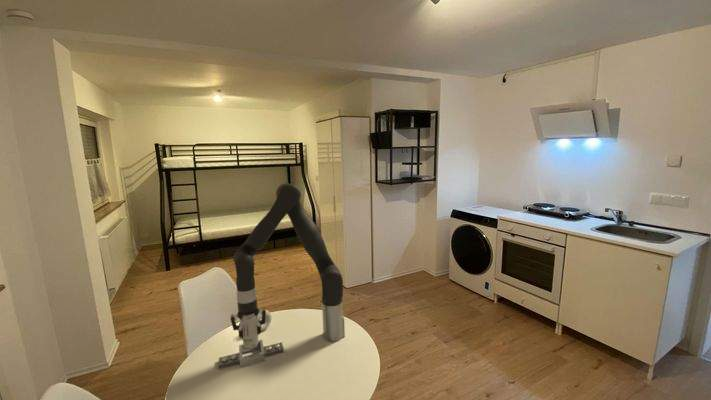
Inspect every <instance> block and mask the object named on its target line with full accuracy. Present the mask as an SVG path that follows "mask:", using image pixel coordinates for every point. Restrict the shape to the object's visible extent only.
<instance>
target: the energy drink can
mask: <svg viewBox="0 0 711 400" xmlns="http://www.w3.org/2000/svg"><path fill="white" fill-rule="evenodd" d="M253 315H254V316H253ZM244 316H245V317H244ZM243 318H244V319H243ZM255 318H256V319H257V317H256V316H255V314H254V313H251V314H247V315H243V317H242V320H241V322H243V326H242V334H243V338H242V342H243V343H242V344H243V345H244V347H245V348H246V349H253V348H255V347H256V346H257V344H258V343H259V335H258V329H257V323H256V319H255Z"/></svg>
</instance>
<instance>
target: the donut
mask: <svg viewBox="0 0 711 400" xmlns="http://www.w3.org/2000/svg"><path fill="white" fill-rule="evenodd" d="M265 310H266V316H265V324H262V325H261V332H263V331H265V330H267V329H268V328H269V327H270V324H271V322H272V314H271V312H270V311H268V310H267V309H265ZM257 318H258V319H259V321H261V320H262V315H261V314H260V313H259V314H258V315H257Z"/></svg>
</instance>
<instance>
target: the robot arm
mask: <svg viewBox="0 0 711 400" xmlns="http://www.w3.org/2000/svg"><path fill="white" fill-rule="evenodd" d="M275 196H276V199H275V201H274V203H273V205H272V206H271V208H270V210H269V211H268V212H267V213H266V214H265V215H264V217H263V218H262V219H261V220H260V221H259V222H258V223H257V224H256V226H255V227H254V228H253V230H252V232H250V234H249V236H248V237H247V238H246V239H245V241H244V242H243V243H242V244H241V245H240V247H238V248H237V249H236V251H235V252H234V255H233V259H232V260H233V263H234V266H235V272H236V273H235V274H236V278H235V283H236V284H235V285H236V301H237V314H231V315H230V321H231V325H232V330H233V331H238V338H240V339H241V340H243V334H242V326H243V322H241V320H242V317H243V315H247V314H251V313H254V314H255V316H256V317H257V315H258V314H259V313H260V314H261V315H262V319H261V321H259V319H258V318H257V319H256V318H255V319H256V323H257V329H258V336H259V335H260V334H261V333H262V331H261V325H262V324H265V316H266V310H267V309H266V308H264V307H263V308H261V309H259V308H258V298H257V297H258V295H257V289H256V283H255V282H256V281H255V259H254V256H255V254H256V253H257V252H258V251H261V250H262V249H263V247H264V246H265V245H266V244H267V242H268V240H269V239H270V238H271V236H272V235H273V233H274V232H275V230H276V229H277V227H278V226H279V224H280V223H281V222H282V220H283V219H284V218H285V217H286V215H287V216H288V217H289V219H290V222H291V224H292V227H293V229H294V232H295V234H296V235H297V238H298V241H300V243H301V246H302V248H303V249H304V250H305V253H307V254H308V256H309V257H310V258H311V259H312V261H313V262H314V265H315V266H316V269H317V271H318V275H319V278H320V280H321V289H322V290H321V291H322V292H321V294H322V296H321V309H322V330H323V331H322V332H323V333H322V334H323V339H324V340H326V341H327V342H338V341H341V340H342V339H343V338H345V337H346V333H345V330H346V329H345V327H346V326H345V317H344V314H343V310H344V309H343V297H344V285H343V284H344V283H343V282H344V280H343V276H342V273H341V271H340V269H339V268H338V267H337V265H336V264H335V262H334V261H333V259H332V257H330V254H329V252H328V249H327V246H326V243H325V240H324V239H323V236H322V234H321V232H320V229H318V227H317V224H316V223H315V221H314V220H313V219H312V218H311V217H310V215H309V214H308V213H307V211H306V210H305V208H304V206H303V203H302V202H301V198H302V197H301V196H302V194H301V189H300V188H299V187H298V186H297V185H295V184H294V183H289V182H288V183H287V182H286V183H282V184H280V185H279V186H278V187H277V188H276V193H275ZM253 316H254V315H253ZM244 317H245V316H244ZM237 319H240V320H239V322H238V323H239V324H238V325H237V323H236V321H237ZM243 319H244V318H243Z"/></svg>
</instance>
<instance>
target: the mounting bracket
mask: <svg viewBox="0 0 711 400" xmlns="http://www.w3.org/2000/svg"><path fill="white" fill-rule="evenodd" d="M258 341H259V343H258V344H257V346H256V347H255V348H253V349H246V348H245V347H244V345H243V343H242V344H238V345H239V346H238V348H239V349H238V351H239V352H236V353H233V354H230V355H229V354H228V355H225V356H222V357H218V370H221V369H224V368H229V367H233V366H236V365H239V366H240V368H243V367H246V366H250V365H253V364H257V363H260V362H264V361H266V358H267V357H270V356H274V355H278V354H283V353H285V350H284V346H283V342H278V343H273V344H270V345H266V346H264V342H263V341H264V340H263V339H260V340H259V339H258ZM257 350H260V352H257V353H253V354H248V355H246V356H243V354H246V353H249V352H253V351H257Z"/></svg>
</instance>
